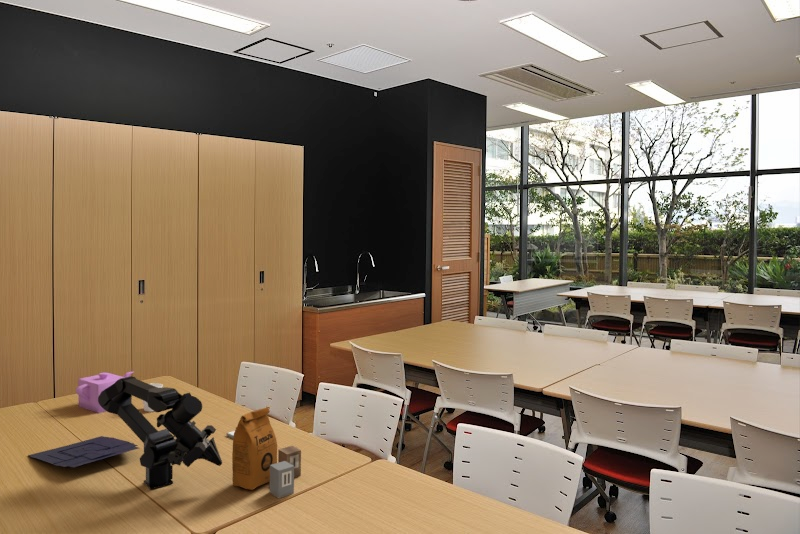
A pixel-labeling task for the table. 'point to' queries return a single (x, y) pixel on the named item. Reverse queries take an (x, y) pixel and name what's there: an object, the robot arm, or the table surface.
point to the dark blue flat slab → (85, 451)
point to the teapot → (95, 389)
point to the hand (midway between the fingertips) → (221, 464)
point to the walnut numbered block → (291, 458)
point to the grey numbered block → (281, 479)
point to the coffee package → (253, 450)
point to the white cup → (146, 402)
